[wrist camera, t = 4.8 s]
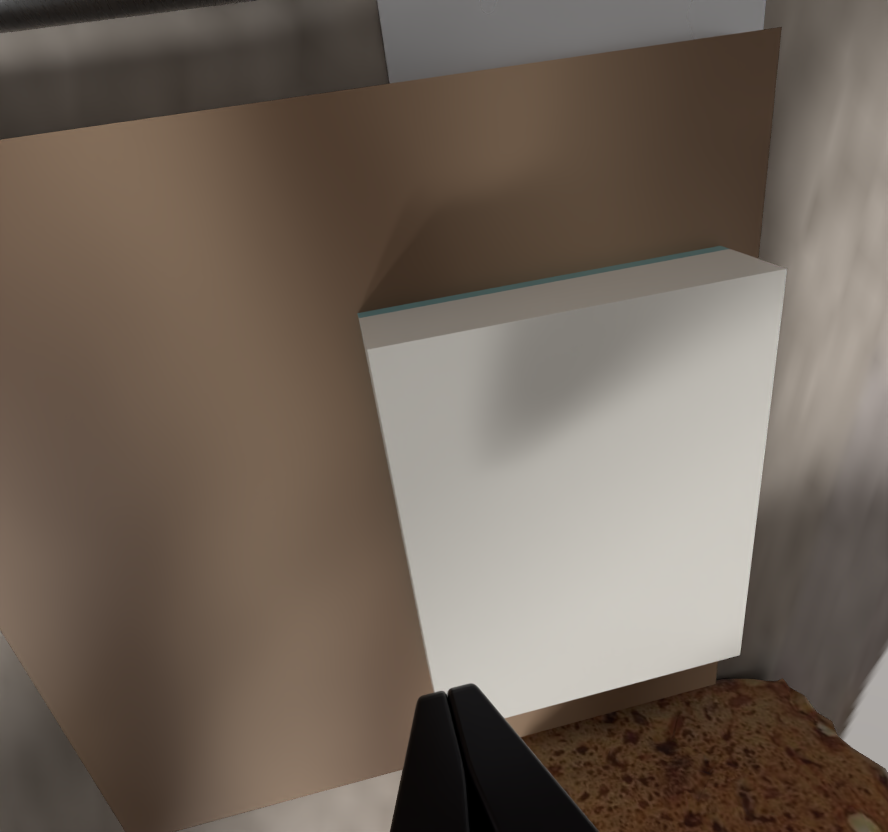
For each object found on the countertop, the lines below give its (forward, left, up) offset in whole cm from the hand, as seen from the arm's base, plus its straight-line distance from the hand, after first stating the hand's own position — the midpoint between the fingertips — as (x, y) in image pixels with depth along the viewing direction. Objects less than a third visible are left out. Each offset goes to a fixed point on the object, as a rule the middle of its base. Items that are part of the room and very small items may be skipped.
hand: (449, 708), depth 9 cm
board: (0, 0, -6) cm, 6 cm away
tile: (0, 0, -4) cm, 4 cm away
